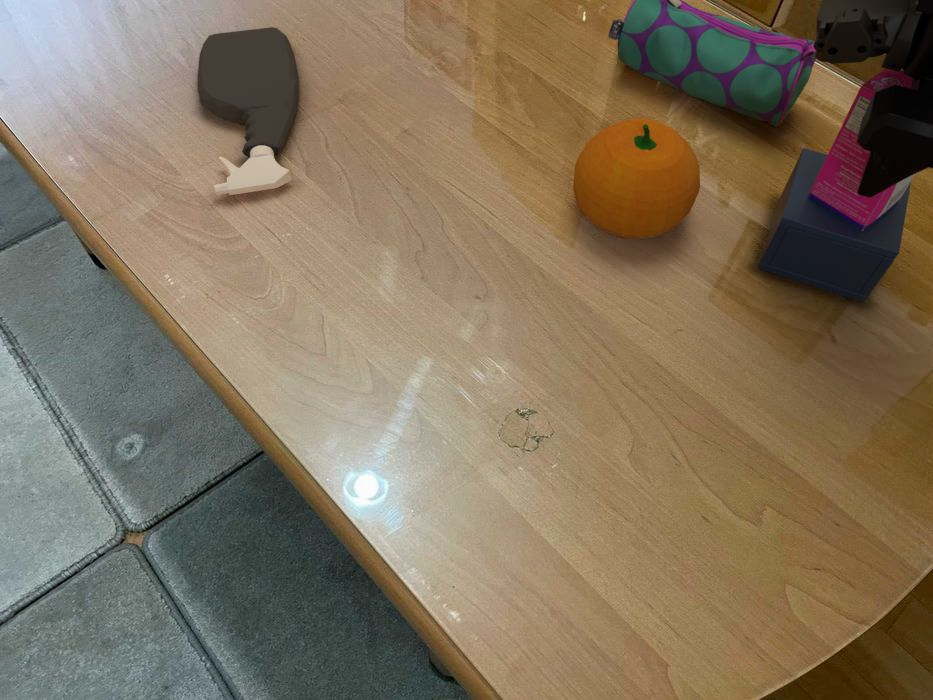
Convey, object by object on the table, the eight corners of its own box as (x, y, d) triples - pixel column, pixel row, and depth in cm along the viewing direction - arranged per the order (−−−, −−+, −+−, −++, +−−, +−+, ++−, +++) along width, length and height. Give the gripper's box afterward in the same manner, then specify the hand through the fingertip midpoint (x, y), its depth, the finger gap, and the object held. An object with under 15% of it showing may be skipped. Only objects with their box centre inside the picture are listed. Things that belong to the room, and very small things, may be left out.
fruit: (574, 254, 70) (590, 173, 62) (563, 168, 77) (575, 85, 69) (699, 253, 70) (731, 172, 62) (676, 167, 77) (702, 84, 69)
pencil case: (600, 74, 86) (614, -6, 78) (637, 38, 90) (654, -42, 82) (771, 147, 79) (806, 67, 71) (803, 104, 83) (839, 23, 75)
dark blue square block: (777, 201, 74) (799, 156, 70) (877, 231, 72) (907, 186, 67) (757, 268, 69) (779, 224, 65) (863, 302, 67) (894, 259, 62)
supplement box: (841, 166, 68) (903, 53, 58) (899, 202, 65) (974, 89, 56) (803, 195, 66) (861, 82, 56) (862, 233, 63) (933, 122, 54)
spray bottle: (295, 46, 88) (315, 192, 75) (200, 56, 87) (204, 207, 74) (290, 23, 86) (310, 169, 73) (193, 33, 85) (195, 185, 71)
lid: (800, 154, 70) (803, 147, 69) (907, 184, 68) (912, 177, 67) (779, 224, 65) (782, 217, 64) (894, 259, 62) (899, 252, 62)
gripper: (871, -113, 56) (794, 70, 68) (830, 17, 46) (749, 203, 59) (1034, -81, 53) (922, 103, 66) (1027, 64, 43) (897, 247, 56)
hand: (871, 159), depth 62 cm, fingers open, 9 cm apart
